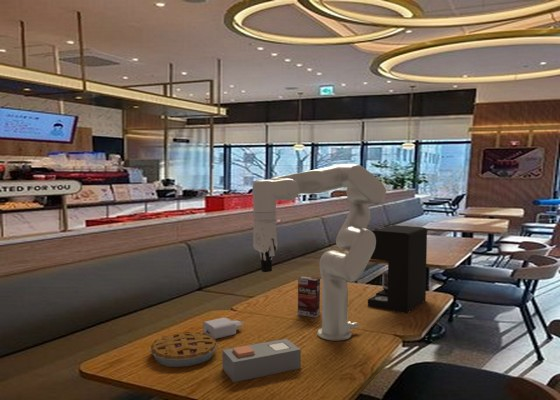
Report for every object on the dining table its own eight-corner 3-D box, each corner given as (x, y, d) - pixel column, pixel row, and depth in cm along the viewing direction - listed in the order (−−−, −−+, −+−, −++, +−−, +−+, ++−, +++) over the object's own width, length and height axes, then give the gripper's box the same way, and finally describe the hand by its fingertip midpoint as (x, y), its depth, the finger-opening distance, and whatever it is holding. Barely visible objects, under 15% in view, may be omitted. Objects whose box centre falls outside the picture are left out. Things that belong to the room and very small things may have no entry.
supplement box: (297, 315, 194) (297, 278, 193) (301, 312, 199) (301, 276, 198) (316, 317, 191) (317, 280, 190) (320, 314, 195) (320, 277, 194)
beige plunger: (282, 360, 148) (282, 342, 147) (289, 366, 143) (289, 347, 143) (268, 363, 146) (268, 345, 145) (275, 369, 141) (275, 350, 141)
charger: (249, 332, 175) (214, 340, 166) (237, 325, 182) (203, 333, 174) (249, 319, 175) (214, 327, 166) (237, 313, 182) (202, 320, 173)
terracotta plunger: (248, 364, 143) (248, 345, 142) (254, 370, 138) (254, 351, 138) (232, 367, 140) (232, 348, 140) (238, 373, 136) (238, 353, 136)
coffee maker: (390, 292, 231) (391, 223, 228) (429, 298, 219) (430, 226, 217) (366, 305, 208) (367, 229, 206) (408, 313, 197) (409, 232, 194)
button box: (286, 356, 151) (286, 338, 151) (300, 368, 142) (300, 349, 142) (222, 368, 142) (222, 350, 141) (233, 382, 133) (233, 362, 132)
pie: (155, 374, 138) (155, 358, 138) (146, 348, 158) (145, 334, 158) (225, 362, 147) (225, 347, 147) (208, 339, 167) (207, 326, 167)
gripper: (245, 215, 157) (247, 268, 158) (264, 220, 144) (265, 277, 145) (265, 214, 160) (267, 265, 162) (285, 218, 147) (286, 274, 148)
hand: (266, 271), depth 153 cm, fingers closed
